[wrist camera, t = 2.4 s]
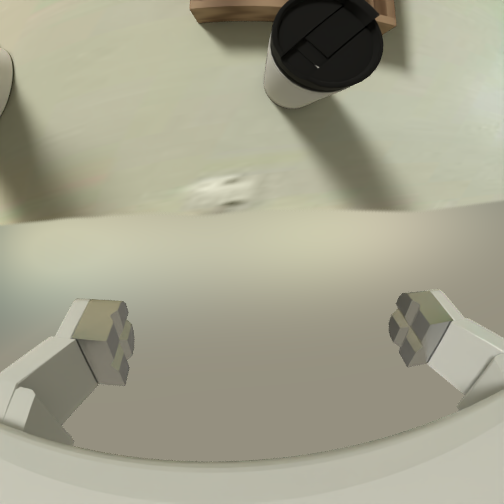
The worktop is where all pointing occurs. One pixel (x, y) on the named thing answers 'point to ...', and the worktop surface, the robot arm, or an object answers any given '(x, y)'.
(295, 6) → the travel mug
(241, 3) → the open box
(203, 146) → the worktop surface
